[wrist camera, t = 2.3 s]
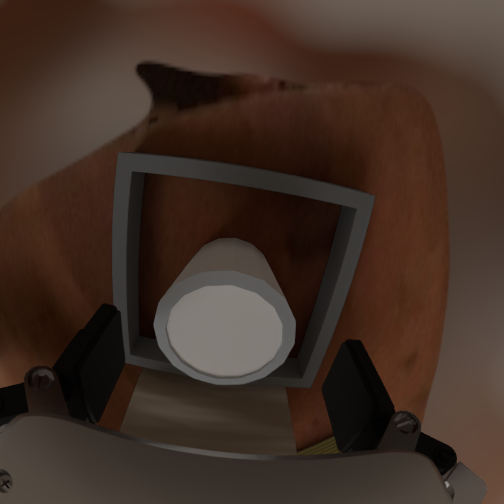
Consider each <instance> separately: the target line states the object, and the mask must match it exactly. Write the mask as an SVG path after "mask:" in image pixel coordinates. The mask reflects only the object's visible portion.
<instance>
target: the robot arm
mask: <svg viewBox="0 0 504 504" xmlns="http://www.w3.org/2000/svg"><path fill="white" fill-rule="evenodd" d="M124 364H125V351H124V342H123V332H122V321H121V312H120V310H117V307H116V306H113V305H109V304H105V303H104V304H102V305H101V306H100V308H99V309H98V310H97V312H96V313H95V314H94V315H93V317H92V318H91V319H90V321H89V322H88V323H87V325H86V326H85V327H84V329H81V330H79V331H78V333H77V334H76V335H75V337H74V338H73V339H72V341H71V342H70V344H69V345H68V346H67V348H66V349H65V350H64V352H63V353H62V355H61V356H60V357H59V359H58V360H57V362H56V363H55V365H54V366H53V367H52V368H50V367H48V366H36V367H33V368H31V369H30V370H29V371H28V372H27V373H26V374H25V377H24V383H20V384H16V385H12V386H8V387H3V388H0V504H481V502H482V500H483V498H484V497H485V495H486V492H487V486H486V483H485V482H484V481H483V480H482V479H481V478H480V477H479V476H477V475H476V474H475V473H474V472H473V471H471V470H470V469H469V468H468V467H466V466H465V465H464V464H463V463H462V462H461V461H460V462H459V463H457V456H456V453H455V451H454V450H453V449H452V448H451V447H450V446H448V445H447V444H444V443H442V442H440V441H438V440H436V439H434V438H432V437H430V436H428V435H426V434H424V433H422V432H420V431H421V423H420V421H419V419H418V418H417V417H416V416H415V415H414V414H412V413H411V412H408V411H397V412H395V410H394V405H393V403H392V401H391V399H390V397H389V395H388V393H387V391H386V389H385V387H384V385H383V383H382V381H381V379H380V377H379V375H378V373H377V371H376V369H375V367H374V365H373V363H372V361H371V359H370V357H369V355H368V353H367V351H366V350H365V348H364V346H363V344H362V342H361V341H360V340H350V339H348V340H346V342H344V343H342V344H341V346H340V349H339V351H338V353H337V355H336V358H335V360H334V362H333V364H332V366H331V369H330V371H329V373H328V375H327V377H326V379H325V381H324V383H323V386H322V393H323V397H324V400H325V404H326V407H327V411H328V415H329V418H330V422H331V426H332V430H333V433H334V437H335V441H336V445H337V448H338V450H339V451H341V452H342V453H333V454H317V455H255V454H240V453H228V452H219V451H210V450H203V449H196V448H190V447H184V446H178V445H172V444H167V443H162V442H158V441H153V440H149V439H145V438H141V437H137V436H133V435H129V434H125V433H122V432H118V431H115V430H111V429H108V428H105V427H101V426H98V425H95V424H94V423H95V422H96V423H98V422H99V421H100V419H101V416H102V414H103V412H104V409H105V407H106V405H107V402H108V400H109V398H110V395H111V393H112V391H113V389H114V387H115V384H116V382H117V380H118V378H119V376H120V373H121V371H122V369H123V367H124Z"/></svg>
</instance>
